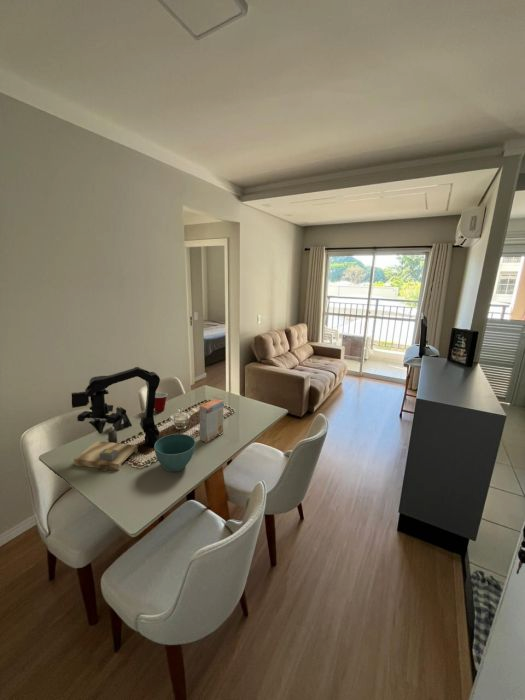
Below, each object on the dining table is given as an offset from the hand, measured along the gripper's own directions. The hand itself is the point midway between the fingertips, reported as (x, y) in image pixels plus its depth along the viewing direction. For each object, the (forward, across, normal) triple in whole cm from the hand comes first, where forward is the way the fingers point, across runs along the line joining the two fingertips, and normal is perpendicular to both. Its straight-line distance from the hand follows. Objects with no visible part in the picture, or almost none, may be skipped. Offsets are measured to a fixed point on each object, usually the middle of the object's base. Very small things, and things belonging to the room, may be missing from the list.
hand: (100, 433), depth 138 cm
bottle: (+12, +1, -11) cm, 16 cm away
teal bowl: (+13, -38, +3) cm, 40 cm away
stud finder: (+9, -7, +6) cm, 13 cm away
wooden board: (+12, -3, +1) cm, 13 cm away
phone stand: (+12, +7, -29) cm, 32 cm away
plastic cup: (+13, -5, -54) cm, 56 cm away
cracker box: (+13, -48, -26) cm, 56 cm away
